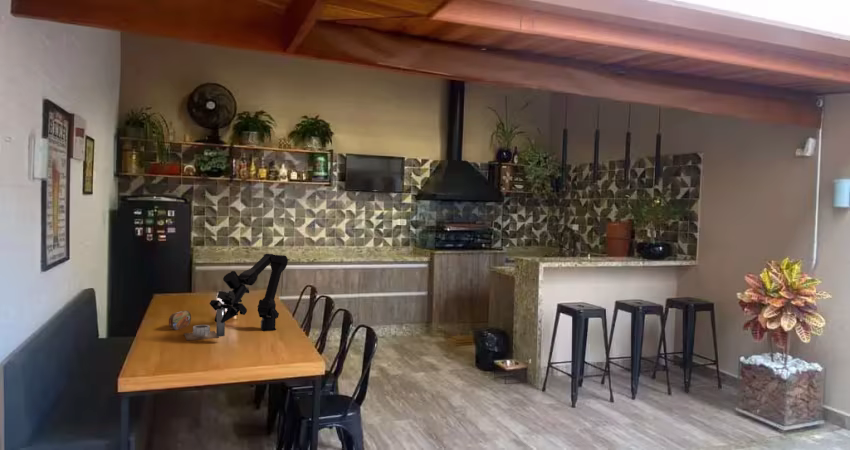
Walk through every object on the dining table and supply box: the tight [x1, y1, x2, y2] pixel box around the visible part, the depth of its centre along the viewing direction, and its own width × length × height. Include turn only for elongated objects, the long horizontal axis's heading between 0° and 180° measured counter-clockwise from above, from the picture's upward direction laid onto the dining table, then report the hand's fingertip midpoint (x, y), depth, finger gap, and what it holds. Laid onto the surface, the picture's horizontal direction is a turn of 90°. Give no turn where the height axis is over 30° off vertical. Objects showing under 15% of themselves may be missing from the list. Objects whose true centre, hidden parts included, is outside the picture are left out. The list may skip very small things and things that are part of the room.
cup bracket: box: [192, 324, 211, 337], centre depth 267 cm, size 7×7×4 cm
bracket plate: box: [183, 330, 220, 341], centre depth 267 cm, size 14×12×1 cm
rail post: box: [215, 308, 226, 338], centre depth 256 cm, size 4×4×12 cm
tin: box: [168, 310, 192, 331], centre depth 283 cm, size 15×3×8 cm, turn 168°
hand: (218, 322), depth 255 cm, fingers closed on rail post, 4 cm apart
